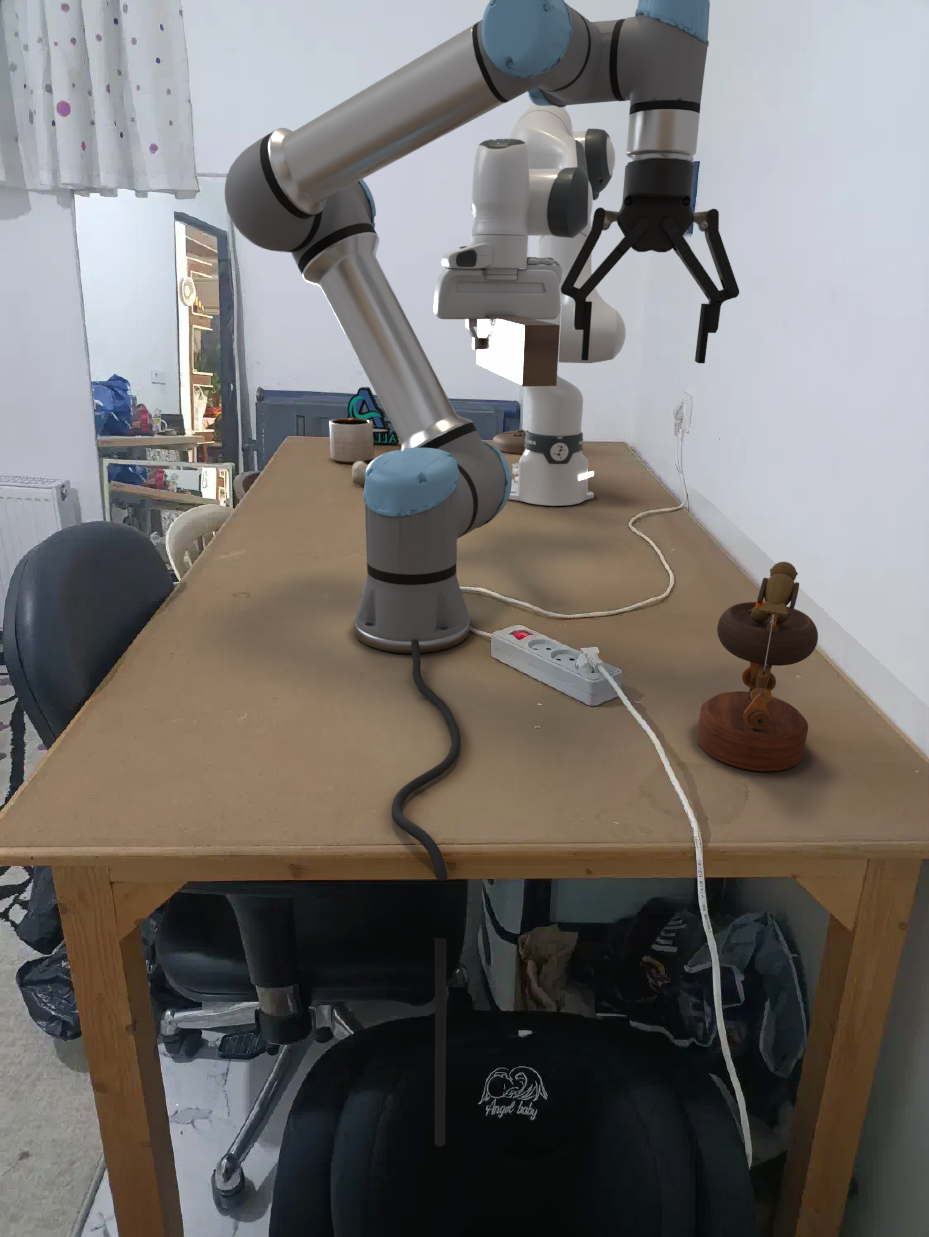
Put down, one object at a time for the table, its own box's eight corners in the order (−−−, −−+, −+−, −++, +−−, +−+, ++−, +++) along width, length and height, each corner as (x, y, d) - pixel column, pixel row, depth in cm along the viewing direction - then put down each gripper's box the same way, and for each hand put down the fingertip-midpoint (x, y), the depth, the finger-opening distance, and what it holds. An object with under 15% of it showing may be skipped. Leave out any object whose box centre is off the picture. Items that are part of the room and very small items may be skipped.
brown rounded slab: (498, 463, 213) (499, 446, 211) (490, 442, 239) (491, 427, 237) (581, 463, 214) (582, 447, 212) (564, 443, 240) (565, 428, 238)
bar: (556, 386, 116) (559, 325, 113) (522, 386, 115) (524, 325, 112) (505, 364, 142) (506, 313, 138) (476, 364, 141) (477, 313, 138)
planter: (327, 456, 217) (325, 418, 214) (369, 454, 220) (368, 417, 217) (334, 465, 208) (332, 425, 204) (377, 463, 211) (376, 424, 207)
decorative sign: (399, 443, 236) (398, 387, 230) (398, 444, 233) (397, 389, 228) (332, 441, 237) (329, 386, 231) (330, 442, 234) (327, 387, 229)
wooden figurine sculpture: (826, 784, 80) (847, 586, 73) (707, 784, 81) (715, 589, 74) (787, 708, 94) (802, 535, 87) (686, 708, 95) (692, 539, 88)
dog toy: (438, 479, 195) (438, 457, 193) (442, 485, 190) (442, 463, 188) (350, 481, 192) (349, 459, 190) (351, 487, 187) (351, 464, 185)
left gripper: (768, 165, 95) (742, 360, 103) (547, 163, 98) (538, 355, 106) (785, 156, 89) (755, 366, 97) (546, 155, 91) (536, 361, 99)
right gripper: (556, 257, 136) (551, 347, 142) (431, 255, 132) (431, 347, 138) (568, 257, 131) (563, 350, 136) (439, 255, 127) (438, 351, 132)
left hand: (641, 361), depth 101 cm, fingers open, 13 cm apart
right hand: (496, 349), depth 137 cm, fingers closed on bar, 5 cm apart
